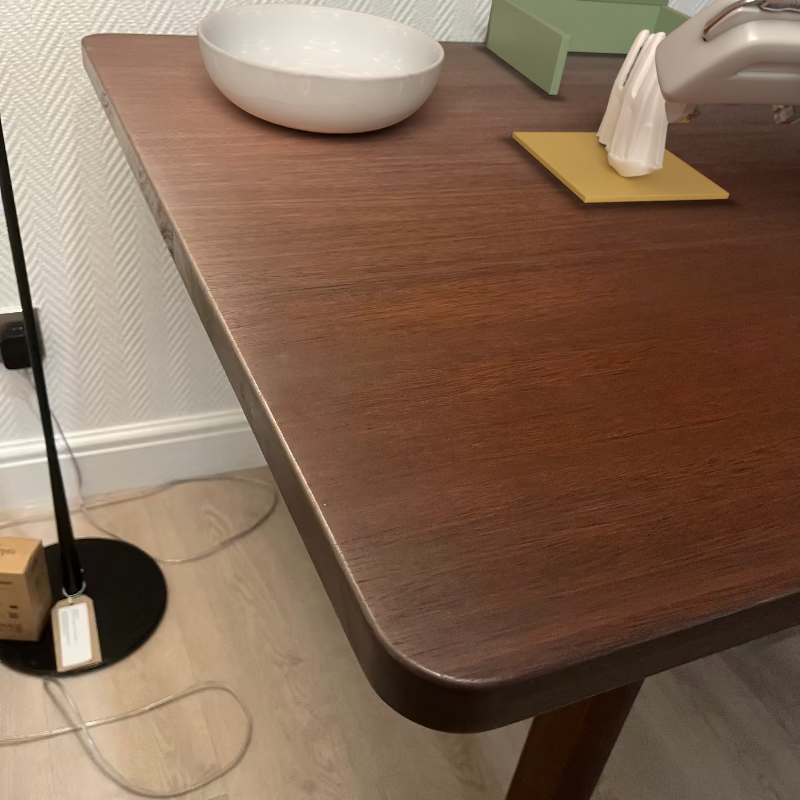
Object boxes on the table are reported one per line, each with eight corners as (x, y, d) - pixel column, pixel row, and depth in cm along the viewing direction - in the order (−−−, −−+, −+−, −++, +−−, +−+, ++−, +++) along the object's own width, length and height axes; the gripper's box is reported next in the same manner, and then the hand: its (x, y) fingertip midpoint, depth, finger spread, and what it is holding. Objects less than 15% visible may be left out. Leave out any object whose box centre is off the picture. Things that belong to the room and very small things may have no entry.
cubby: (648, 52, 107) (664, -4, 103) (731, 99, 94) (754, 37, 90) (483, 45, 100) (494, -15, 95) (549, 95, 86) (565, 27, 82)
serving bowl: (151, 95, 71) (146, 11, 67) (329, 68, 84) (334, -4, 80) (303, 181, 61) (308, 88, 57) (480, 135, 74) (495, 56, 70)
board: (640, 137, 79) (642, 132, 79) (727, 199, 69) (729, 193, 68) (511, 137, 74) (512, 131, 74) (584, 203, 64) (586, 197, 64)
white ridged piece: (656, 191, 67) (703, 51, 60) (605, 183, 67) (647, 42, 60) (638, 141, 76) (677, 15, 69) (594, 134, 76) (628, 7, 69)
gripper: (759, 47, 42) (611, 156, 55) (1035, 60, 48) (844, 155, 61) (738, -67, 42) (597, 68, 55) (1014, -40, 49) (829, 75, 62)
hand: (728, 114), depth 58 cm, fingers open, 8 cm apart
